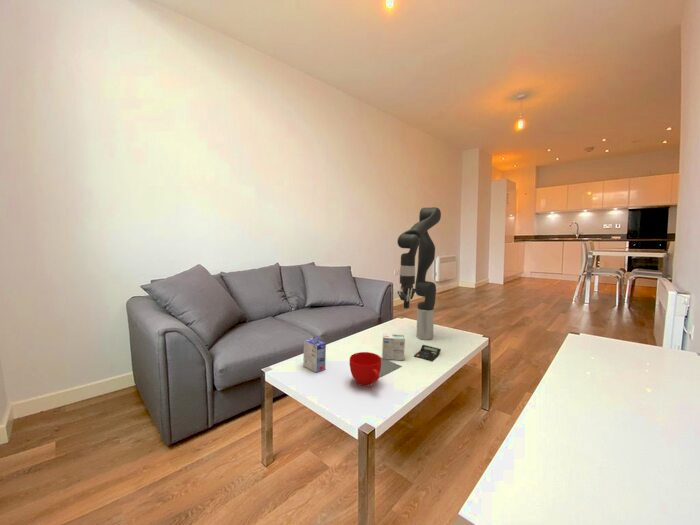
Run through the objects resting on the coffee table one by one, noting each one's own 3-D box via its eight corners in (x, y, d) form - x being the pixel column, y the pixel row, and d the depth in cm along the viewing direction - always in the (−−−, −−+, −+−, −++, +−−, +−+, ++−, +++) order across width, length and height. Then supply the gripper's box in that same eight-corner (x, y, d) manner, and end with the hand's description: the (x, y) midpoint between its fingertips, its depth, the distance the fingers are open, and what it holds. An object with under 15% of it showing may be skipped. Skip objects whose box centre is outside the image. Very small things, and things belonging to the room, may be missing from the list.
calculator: (413, 357, 146) (414, 351, 146) (422, 349, 155) (423, 344, 155) (432, 362, 140) (432, 356, 140) (440, 354, 150) (440, 348, 149)
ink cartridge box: (326, 369, 132) (326, 337, 130) (316, 373, 128) (316, 341, 126) (312, 362, 138) (312, 332, 137) (302, 366, 134) (302, 335, 133)
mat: (372, 354, 148) (372, 354, 148) (401, 366, 135) (401, 366, 135) (349, 364, 137) (349, 363, 137) (378, 378, 124) (378, 377, 124)
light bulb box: (403, 355, 148) (404, 334, 147) (404, 360, 141) (405, 338, 140) (381, 353, 149) (382, 332, 148) (382, 359, 142) (382, 337, 141)
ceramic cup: (361, 398, 109) (362, 372, 108) (344, 377, 124) (344, 354, 123) (392, 391, 114) (392, 366, 113) (371, 372, 129) (372, 350, 128)
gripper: (408, 272, 155) (407, 304, 156) (393, 274, 146) (392, 309, 147) (421, 273, 149) (420, 307, 151) (405, 276, 140) (404, 312, 142)
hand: (406, 308), depth 149 cm, fingers closed
